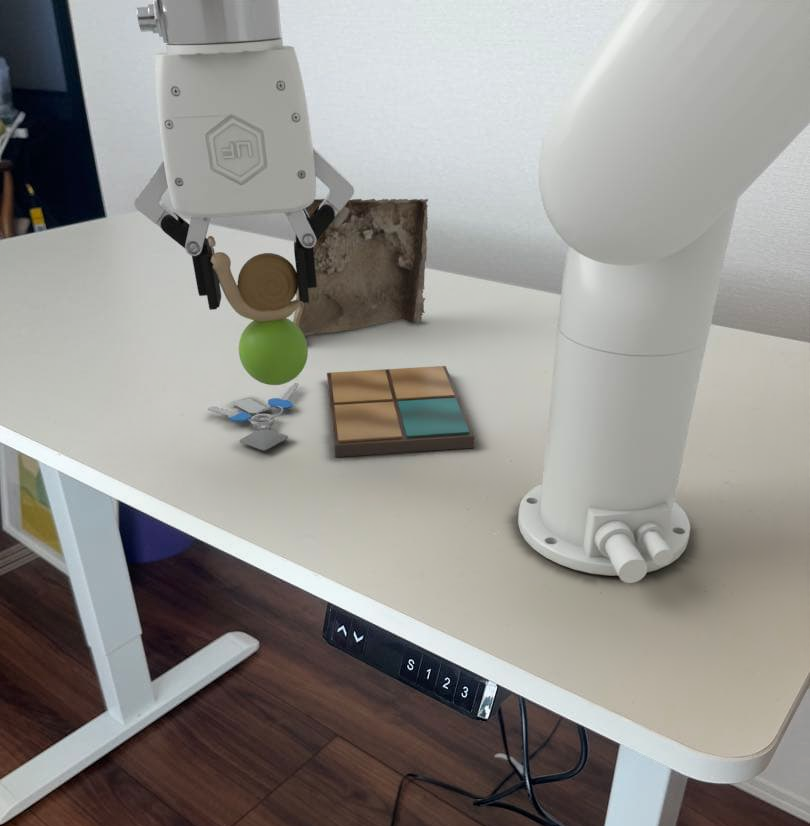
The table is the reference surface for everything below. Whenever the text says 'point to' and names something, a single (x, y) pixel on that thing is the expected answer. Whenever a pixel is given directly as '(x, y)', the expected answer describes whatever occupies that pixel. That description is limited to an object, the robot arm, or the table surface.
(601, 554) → the robot arm
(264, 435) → the key chain
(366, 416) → the game board
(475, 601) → the table surface
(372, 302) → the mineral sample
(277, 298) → the snail figurine
